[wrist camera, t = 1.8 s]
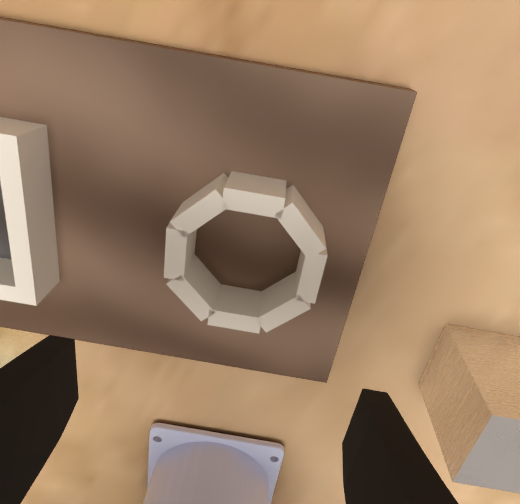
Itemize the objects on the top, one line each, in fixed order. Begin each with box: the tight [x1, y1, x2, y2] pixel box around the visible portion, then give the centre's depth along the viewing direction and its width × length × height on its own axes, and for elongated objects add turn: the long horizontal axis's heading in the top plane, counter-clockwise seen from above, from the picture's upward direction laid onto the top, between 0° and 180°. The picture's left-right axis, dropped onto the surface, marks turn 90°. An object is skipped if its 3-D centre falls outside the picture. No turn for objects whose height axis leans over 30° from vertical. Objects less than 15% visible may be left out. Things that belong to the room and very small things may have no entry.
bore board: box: [0, 17, 417, 383], centre depth 18 cm, size 14×22×3 cm, turn 81°
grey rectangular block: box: [419, 324, 520, 493], centre depth 19 cm, size 4×4×6 cm
